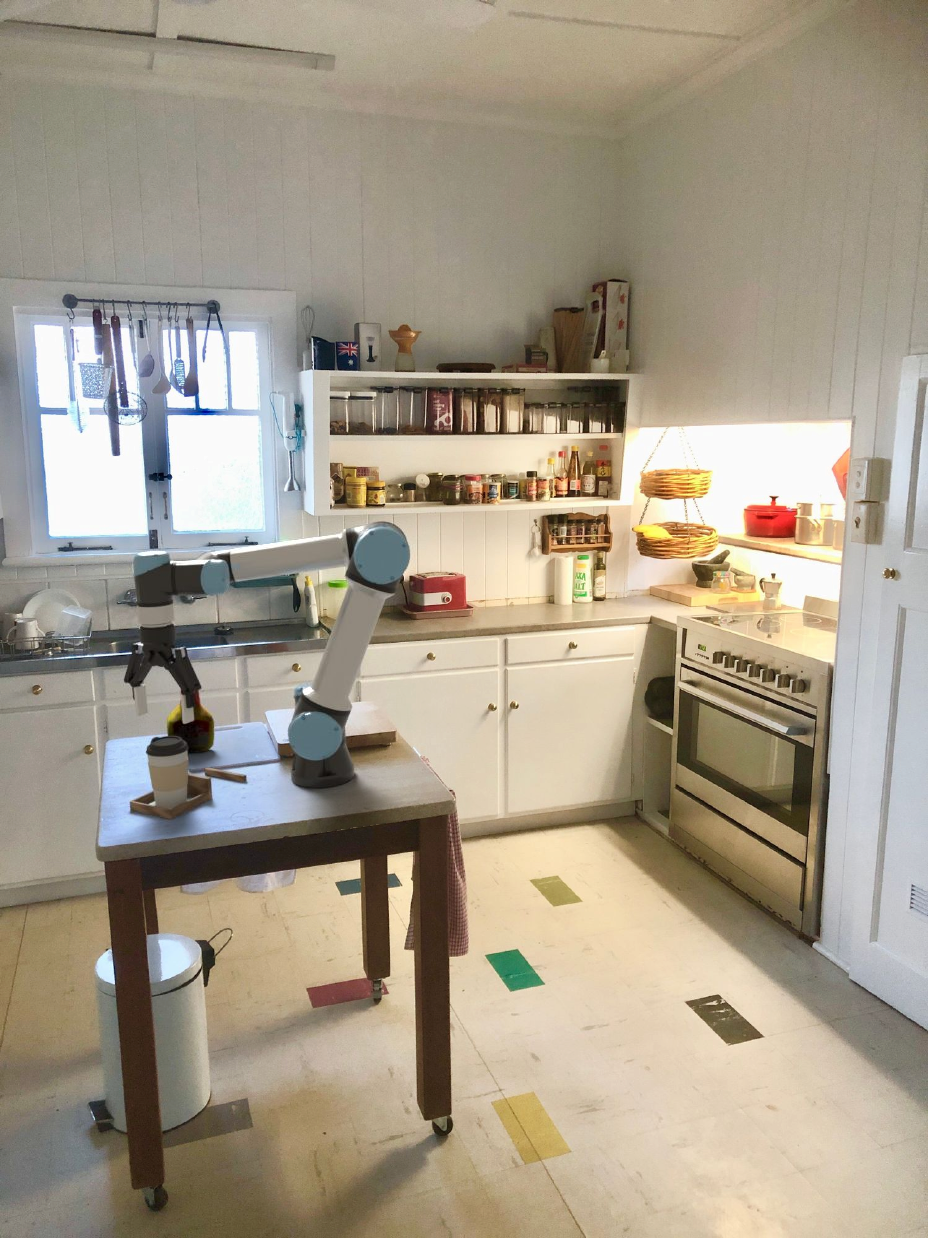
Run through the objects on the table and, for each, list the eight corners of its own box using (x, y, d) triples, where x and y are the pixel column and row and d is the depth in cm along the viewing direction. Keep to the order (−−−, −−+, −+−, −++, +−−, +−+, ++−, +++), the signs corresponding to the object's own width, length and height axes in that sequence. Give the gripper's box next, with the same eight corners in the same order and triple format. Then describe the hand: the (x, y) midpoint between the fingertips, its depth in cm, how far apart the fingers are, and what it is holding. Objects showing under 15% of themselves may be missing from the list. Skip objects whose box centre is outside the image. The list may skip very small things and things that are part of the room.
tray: (212, 798, 216) (210, 777, 215) (171, 819, 205) (169, 797, 204) (172, 790, 221) (170, 769, 220) (130, 810, 210) (128, 788, 209)
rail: (246, 780, 227) (246, 775, 226) (243, 782, 226) (243, 776, 225) (207, 773, 232) (207, 767, 232) (205, 774, 231) (204, 768, 231)
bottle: (218, 746, 251) (213, 673, 247) (211, 755, 245) (206, 680, 241) (173, 747, 251) (168, 674, 247) (165, 755, 245) (159, 680, 241)
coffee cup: (199, 796, 216) (195, 733, 213) (179, 812, 207) (174, 747, 204) (163, 793, 218) (158, 731, 215) (142, 809, 210) (136, 744, 207)
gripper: (213, 624, 202) (220, 720, 207) (127, 616, 213) (135, 706, 218) (188, 631, 196) (196, 730, 200) (101, 622, 207) (110, 716, 211)
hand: (164, 718), depth 209 cm, fingers open, 13 cm apart
